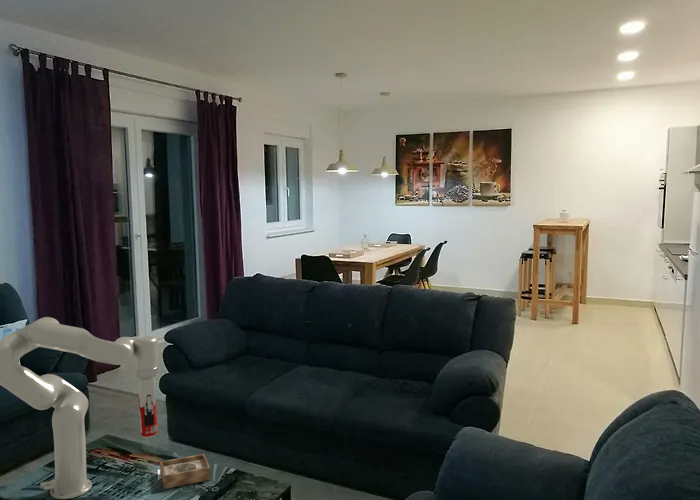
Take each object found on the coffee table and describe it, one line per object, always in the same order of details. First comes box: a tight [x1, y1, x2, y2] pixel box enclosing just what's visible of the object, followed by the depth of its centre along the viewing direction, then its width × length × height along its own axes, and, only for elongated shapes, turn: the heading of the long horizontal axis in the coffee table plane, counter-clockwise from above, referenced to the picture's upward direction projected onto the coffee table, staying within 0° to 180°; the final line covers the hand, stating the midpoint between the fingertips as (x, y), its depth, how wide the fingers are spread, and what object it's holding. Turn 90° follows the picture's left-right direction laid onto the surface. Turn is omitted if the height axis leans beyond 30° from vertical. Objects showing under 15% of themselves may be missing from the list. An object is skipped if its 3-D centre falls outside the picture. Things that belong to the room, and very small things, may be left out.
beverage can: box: [138, 396, 159, 438], centre depth 192 cm, size 6×6×15 cm
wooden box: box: [159, 453, 211, 490], centre depth 196 cm, size 16×12×4 cm
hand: (148, 421), depth 192 cm, fingers closed on beverage can, 5 cm apart
